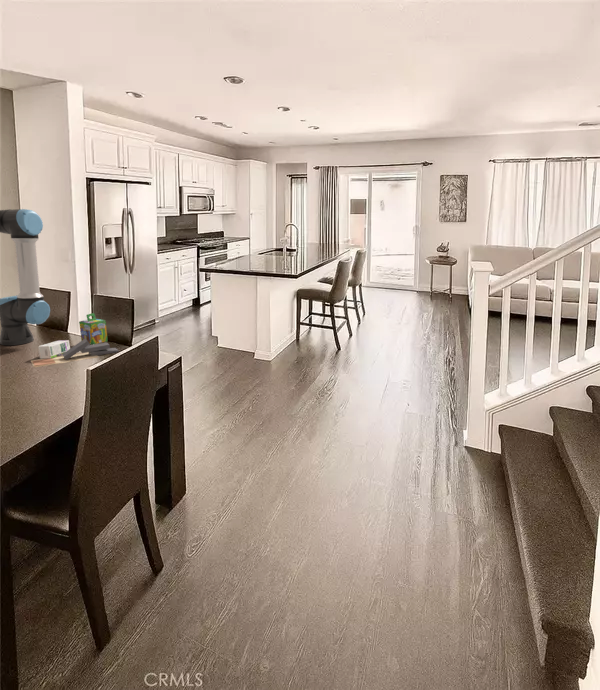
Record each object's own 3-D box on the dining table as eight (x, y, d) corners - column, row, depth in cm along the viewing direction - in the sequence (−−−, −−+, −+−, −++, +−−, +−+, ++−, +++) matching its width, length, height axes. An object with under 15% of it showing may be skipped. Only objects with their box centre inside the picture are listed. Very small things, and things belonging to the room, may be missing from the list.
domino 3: (88, 349, 240) (115, 347, 246) (88, 353, 240) (115, 351, 247) (90, 351, 236) (118, 350, 242) (90, 355, 236) (118, 354, 242)
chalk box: (93, 346, 256) (89, 316, 252) (81, 344, 260) (77, 314, 256) (108, 342, 263) (105, 313, 259) (96, 340, 268) (93, 311, 264)
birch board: (30, 362, 231) (30, 360, 231) (92, 353, 244) (92, 350, 244) (34, 369, 221) (34, 367, 221) (98, 359, 235) (98, 356, 234)
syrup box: (48, 346, 231) (69, 340, 244) (37, 346, 232) (58, 340, 246) (50, 358, 232) (71, 352, 245) (39, 358, 233) (60, 352, 247)
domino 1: (62, 354, 234) (85, 338, 237) (64, 357, 235) (87, 341, 238) (63, 357, 230) (87, 340, 233) (66, 360, 230) (90, 343, 234)
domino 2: (79, 346, 237) (106, 342, 243) (80, 350, 238) (107, 346, 244) (81, 349, 233) (109, 344, 239) (82, 353, 234) (109, 348, 240)
